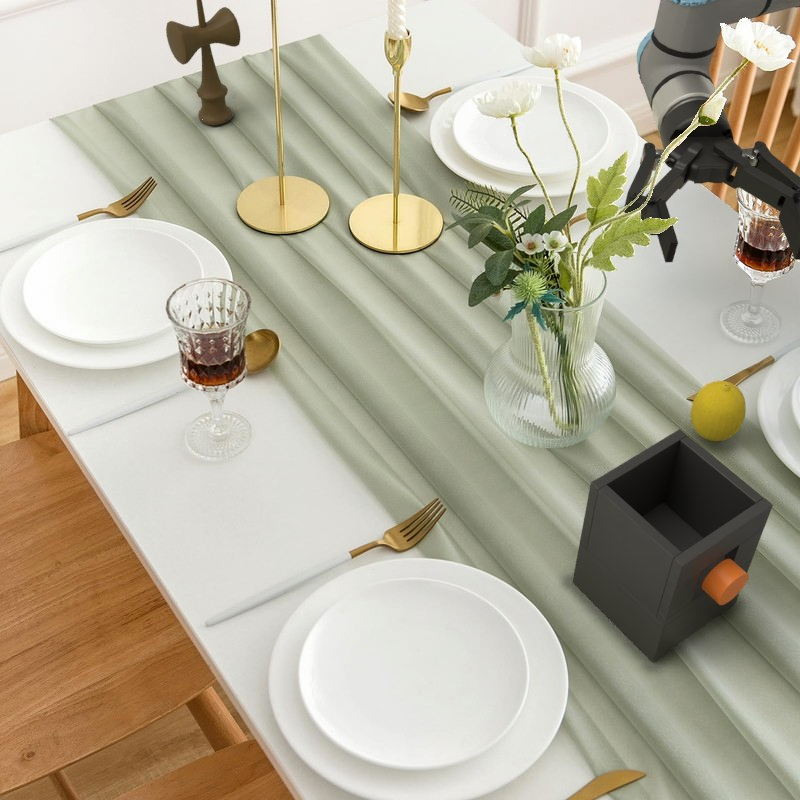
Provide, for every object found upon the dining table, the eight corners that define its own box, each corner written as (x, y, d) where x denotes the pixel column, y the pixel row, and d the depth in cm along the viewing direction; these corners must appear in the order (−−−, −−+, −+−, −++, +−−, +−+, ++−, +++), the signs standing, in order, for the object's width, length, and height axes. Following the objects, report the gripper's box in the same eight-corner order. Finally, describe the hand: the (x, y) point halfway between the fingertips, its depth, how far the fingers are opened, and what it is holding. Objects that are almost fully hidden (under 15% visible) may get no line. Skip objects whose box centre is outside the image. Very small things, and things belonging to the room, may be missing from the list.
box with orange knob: (735, 603, 104) (773, 504, 93) (652, 663, 99) (682, 566, 88) (653, 529, 110) (679, 428, 99) (571, 582, 105) (590, 482, 95)
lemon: (681, 449, 117) (695, 397, 112) (688, 414, 121) (702, 362, 115) (733, 461, 116) (750, 409, 110) (739, 425, 120) (755, 373, 114)
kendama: (178, 120, 165) (156, -8, 151) (234, 101, 169) (218, -25, 155) (196, 137, 162) (175, 9, 147) (253, 118, 165) (238, -10, 151)
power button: (743, 591, 95) (752, 567, 93) (715, 611, 94) (723, 587, 91) (726, 576, 96) (735, 551, 94) (698, 596, 95) (706, 571, 92)
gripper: (789, 149, 128) (844, 275, 114) (579, 152, 127) (610, 280, 113) (808, 94, 122) (869, 221, 108) (589, 97, 121) (623, 225, 107)
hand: (737, 251), depth 111 cm, fingers open, 13 cm apart
